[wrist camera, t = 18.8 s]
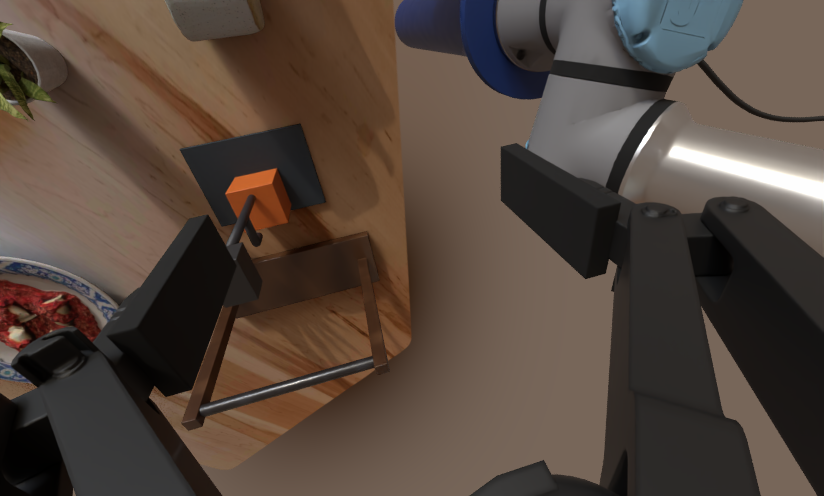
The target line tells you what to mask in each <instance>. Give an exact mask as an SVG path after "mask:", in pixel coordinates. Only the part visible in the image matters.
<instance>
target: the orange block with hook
mask: <svg viewBox="0 0 824 496" xmlns="http://www.w3.org/2000/svg"><path fill="white" fill-rule="evenodd" d="M225 195H226V197H227V199H228V201H229V203H230V205H231V207H232V209H233V210H234V212H235V214H236V216H237V218H238V219H237V222H236V224H235V226H234V228H233V230H232V233H231V235H230V237H229V239H228V241H227V244H226V247H227V249H228V251H229V253H230V254H231V256H232V258H233V260H234V261H235V263H236V265H237V267H236V270H235V273H234V276H233V278H232V281H231V284H230V287H229V289H228V292H227V295H226V297H225V300H224V303H223V305H224V306H225V308H227V307H231V306H235V305H239V304H243V303H247V302H251V301H254V300H258V299H259V295H260V291H261V287H262V282H263V281H262V279H261V277H260V275H259V273H258V271H257V269H256V267H255V265H254V263H253V261H252V260H251V258H250V256H249V254H248V252H247V250H246V248H245V246H244V244H243V242H241V243H239V241H240V238H241V236H242V233H243V231H244V232H245V233H247V235H248V237H249V239H250V241H251V243H252V245H253V246H255V247H258V246H260V244H261V241H262V238H263V235H262V234H261V233H256V231H255V230H260V229H264V228H268V227H272V226H276V225H281V224H285V223H288V221H289V215H290V210H291V202H290V200H289V197H288V195H287V192H286V190H285V187H284V185H283V182H282V180H281V177H280V174H279V172H278V169H277V168H275V169H271V170H266V171H262V172H257V173H253V174H248V175H244V176H239V177H235V178H234V180H233V181H232V183H231V185H230V186H229V188H228V190H227V191H226V193H225Z"/></svg>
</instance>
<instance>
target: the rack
mask: <svg viewBox="0 0 824 496" xmlns="http://www.w3.org/2000/svg"><path fill="white" fill-rule="evenodd" d="M252 261H253V263H254V265H255V267H256V269H257V271H258V273H259V275H260V277H261V279H262V281H263V282H262V287H261V291H260V295H259V299H258V300H254V301H251V302H247V303H243V304H239V305H235V306H231V307H227V308H225V306H223V309H222V311H221V314H220V317H219V320H218V323H217V325H216V328H215V331H214V334H213V336H212V339H211V342H210V345H209V348H208V350H207V353H206V356H205V359H204V361H203V364H202V367H201V370H200V373H199V375H198V378H197V381H196V384H195V386H194V389H193V392H192V395H191V397H190V400H189V403H188V406H187V409H186V411H185V414H184V417H183V420H182V422H181V424H182V425H183V426H184V427H185V428H186V429H187V430H188V431H189V430H192V429H196V428H199V427H202V426H203V423H204V420H205V417H206V416H210V415H213V414H217V413H220V412H223V411H227V410H230V409H234V408H237V407H241V406H244V405H248V404H251V403H255V402H258V401H261V400H265V399H268V398H272V397H275V396H279V395H282V394H286V393H289V392H292V391H296V390H299V389H303V388H306V387H310V386H313V385H317V384H320V383H324V382H327V381H330V380H334V379H337V378H341V377H344V376H348V375H351V374H355V373H358V372H361V371H365V370H368V369H372V368H375V371H376V373H377V375H380V374H383V373H387V372H390V369H389V364H388V359H387V354H386V350H385V345H384V340H383V335H382V330H381V325H380V320H379V315H378V310H377V305H376V300H375V295H374V290H373V285H372V283H373V282H377V281H380V280H379V275H378V272H377V268H376V264H375V260H374V257H373V253H372V249H371V245H370V242H369V238H368V234H367V231H366V232H362V233H358V234H354V235H349V236H345V237H341V238H337V239H333V240H329V241H325V242H321V243H317V244H313V245H309V246H305V247H301V248H297V249H293V250H289V251H285V252H281V253H277V254H273V255H269V256H265V257H260V258H256V259H252ZM358 286H362V292H363V298H364V305H365V311H366V317H367V324H368V330H369V336H370V343H371V349H372V355H373V356H370V357H367V358H363V359H360V360H356V361H353V362H349V363H346V364H342V365H339V366H335V367H332V368H328V369H325V370H321V371H318V372H314V373H311V374H307V375H304V376H301V377H297V378H294V379H290V380H287V381H283V382H280V383H276V384H273V385H269V386H266V387H262V388H259V389H255V390H252V391H248V392H245V393H241V394H238V395H234V396H231V397H227V398H224V399H220V400H217V401H213V402H210V400H211V397H212V393H213V390H214V387H215V384H216V380H217V377H218V374H219V370H220V367H221V364H222V360H223V357H224V354H225V351H226V347H227V344H228V341H229V337H230V334H231V331H232V327H233V324H234V321H235V318H240V317H244V316H248V315H252V314H255V313H259V312H263V311H267V310H271V309H274V308H278V307H282V306H286V305H290V304H293V303H297V302H301V301H305V300H309V299H312V298H316V297H320V296H324V295H328V294H331V293H335V292H339V291H343V290H346V289H350V288H354V287H358Z"/></svg>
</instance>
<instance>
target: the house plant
mask: <svg viewBox="0 0 824 496" xmlns="http://www.w3.org/2000/svg"><path fill="white" fill-rule="evenodd" d="M8 25H12V24H7V23H3V22H0V109H1V110H4V111H7V112H8V113H10V114H11V115H13V116H15V117H16V118H22V119H26V118H25V117H24V116H23V115H22V114H21V113H19V112H18V111H17V110H16V109H15V108H14V107H13V106H12V105H20V106H21V107H22V109H23V110H24V111H25V112H26V113H27V114H28V115H29V116H30V117H31V118H32V119H33V115H32V113H31V112H30V110H29V108H28V106H27V103H30V102H32V101H34V100H35V99H36V100H42V101H49V102H54V103H56V102H55V101H53V100H52V99H51V98H50V96H49V95H48V94H47V92H49V91H51V90H53V89H54V88H56V87H58V86H59V85H61V84H62V83H64V82H65V80H66V78H67V74H68V70H67V65H66V63H65V61H64V59H63V57H62V56H61V54H60V53H59V52H58V51H57V50H56V49H55V48H54V47H52V46H51V45H50V44H48V43H47V42H45V41H44V40H42V39H40V38H38V37H36V36H32V35H29V34H24V33H20V32H16V31H11V30H7V29H5V28H6V27H7V26H8ZM26 120H27V119H26ZM33 120H34V119H33ZM27 121H28V120H27ZM34 121H35V120H34Z"/></svg>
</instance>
